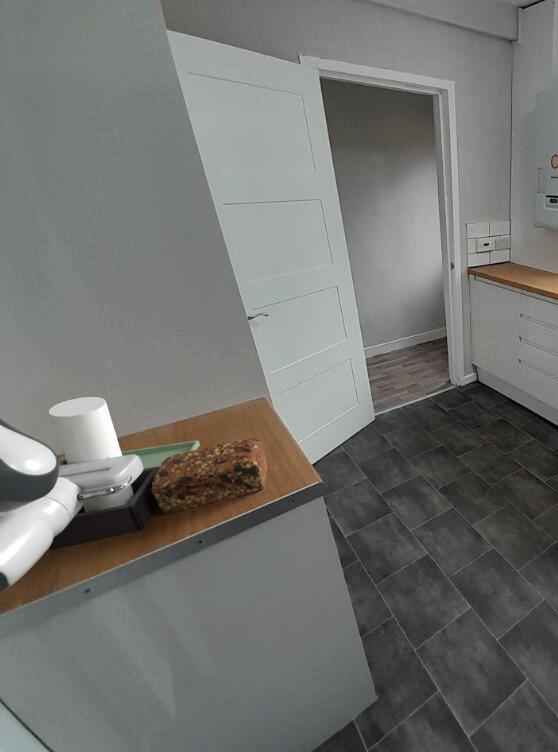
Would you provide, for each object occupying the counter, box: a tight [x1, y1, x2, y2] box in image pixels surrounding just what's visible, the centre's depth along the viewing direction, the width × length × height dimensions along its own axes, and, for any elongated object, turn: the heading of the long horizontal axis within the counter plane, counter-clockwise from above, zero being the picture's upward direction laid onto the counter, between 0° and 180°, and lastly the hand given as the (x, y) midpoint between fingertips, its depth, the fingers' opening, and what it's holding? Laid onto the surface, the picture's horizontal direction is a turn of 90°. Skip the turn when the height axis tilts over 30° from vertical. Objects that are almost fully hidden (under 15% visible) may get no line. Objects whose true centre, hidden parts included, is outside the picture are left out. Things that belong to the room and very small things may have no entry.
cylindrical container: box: [48, 396, 134, 512], centre depth 78 cm, size 7×7×25 cm
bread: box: [152, 437, 268, 515], centre depth 88 cm, size 19×11×10 cm, turn 113°
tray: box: [121, 439, 201, 469], centre depth 96 cm, size 17×15×2 cm
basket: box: [48, 466, 160, 550], centre depth 82 cm, size 14×13×6 cm
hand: (89, 456), depth 78 cm, fingers closed on cylindrical container, 4 cm apart
